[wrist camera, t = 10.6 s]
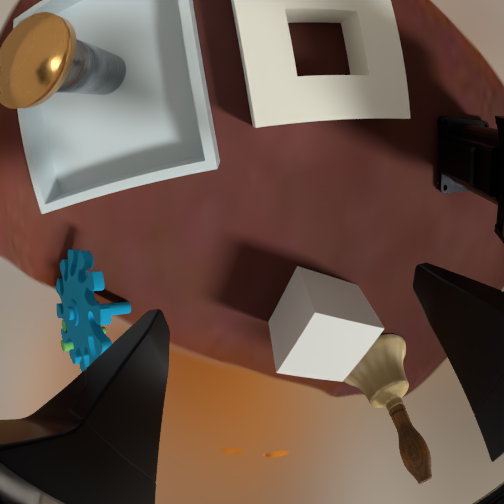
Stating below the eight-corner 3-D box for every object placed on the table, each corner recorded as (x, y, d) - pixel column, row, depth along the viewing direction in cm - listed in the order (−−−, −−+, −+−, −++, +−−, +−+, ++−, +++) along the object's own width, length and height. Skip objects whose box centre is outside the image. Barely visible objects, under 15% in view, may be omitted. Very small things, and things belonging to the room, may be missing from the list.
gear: (71, 219, 18) (109, 349, 14) (134, 226, 23) (181, 334, 19) (43, 296, 23) (72, 394, 19) (91, 294, 28) (124, 381, 24)
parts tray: (187, -38, 11) (180, -57, 9) (220, 161, 19) (217, 168, 16) (34, 25, 12) (13, 19, 9) (61, 201, 19) (41, 214, 16)
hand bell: (417, 336, 28) (481, 447, 14) (380, 384, 31) (422, 488, 17) (363, 328, 26) (428, 469, 12) (326, 381, 30) (361, 507, 16)
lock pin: (131, 36, 14) (64, -6, 6) (140, 92, 16) (69, 82, 8) (76, 59, 14) (-8, 43, 6) (84, 113, 16) (-3, 124, 8)
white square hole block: (367, -4, 13) (385, -17, 10) (388, 116, 18) (410, 118, 15) (230, -5, 13) (229, -23, 11) (252, 126, 18) (255, 127, 15)
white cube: (296, 265, 23) (315, 312, 17) (357, 283, 24) (384, 328, 19) (267, 321, 25) (276, 373, 20) (325, 334, 26) (342, 381, 21)
